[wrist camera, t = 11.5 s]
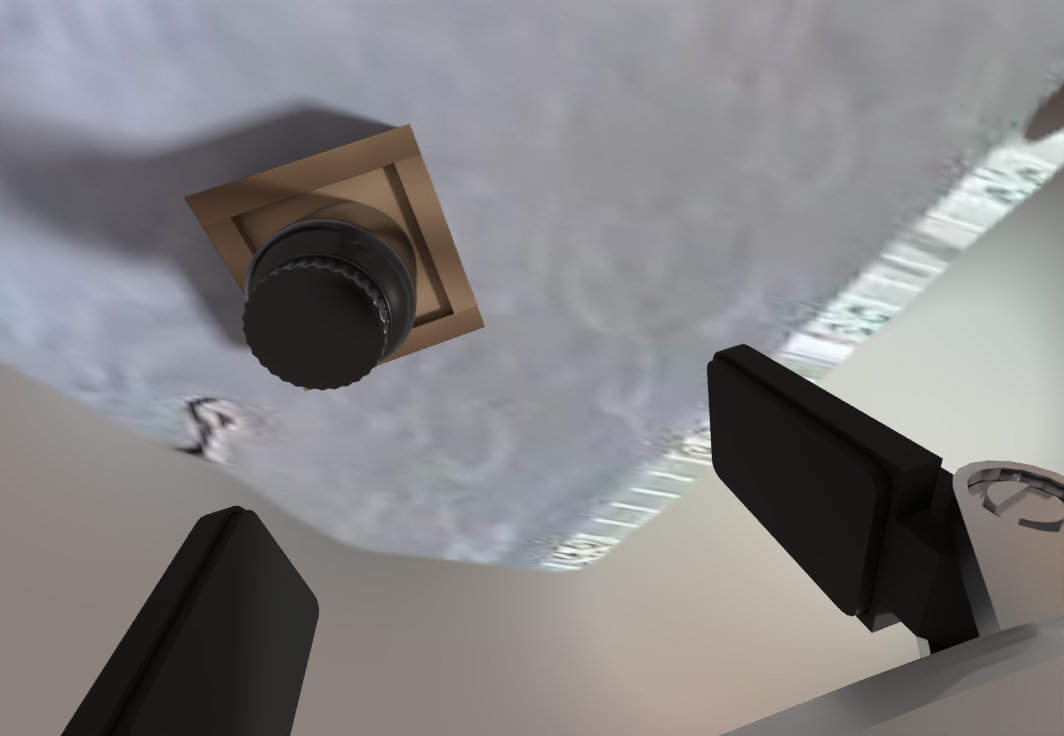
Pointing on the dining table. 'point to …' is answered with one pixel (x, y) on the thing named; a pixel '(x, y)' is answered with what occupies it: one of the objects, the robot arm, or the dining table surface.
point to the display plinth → (358, 177)
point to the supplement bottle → (331, 296)
